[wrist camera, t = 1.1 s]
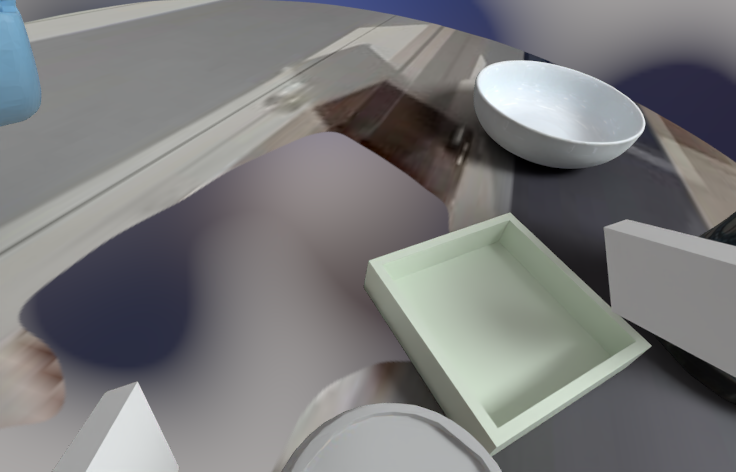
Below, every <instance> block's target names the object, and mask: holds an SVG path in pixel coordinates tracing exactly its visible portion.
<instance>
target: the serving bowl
mask: <svg viewBox="0 0 736 472" xmlns="http://www.w3.org/2000/svg"><path fill="white" fill-rule="evenodd" d="M474 108H475V112H476V115H477V117H478V120H479V122H480V124H481V125H482V127H483V128H484V130H485V131H486V132H487V134H488V135H489V136H490V137H491V138H492V139H493V140H494V141H495V142H496V143H498V144H499V145H500V146H502V147H503V148H505V149H506V150H508V151H509V152H511V153H513V154H515V155H517V156H519V157H521V158H523V159H525V160H528V161H531V162H534V163H537V164H540V165H544V166H549V167H555V168H564V169H578V168H587V167H592V166H596V165H600V164H603V163H605V162H608V161H610V160H612V159H614V158H616V157H617V156H619V155H620V154H622V153H623V152H624V151H626V150H627V149H628V148H629V147H630V146H631V145H632V144H633V143H634V142H635V141H636V140H637V139H638V137H639V136H640V135H641V134H642V132H643V131H644V128H645V120H644V116H643V114H642V112H641V111H640V109H639V108H638V107H637V106H636V104H635V103H634V102H632V101H631V100H630V99H629V98H628V97H627V96H625V95H624V94H622V93H621V92H619V91H618V90H617V89H615V88H613V87H612V86H610V85H608V84H606V83H604V82H602V81H600V80H598V79H596V78H594V77H591V76H589V75H587V74H584V73H581V72H579V71H576V70H573V69H569V68H566V67H562V66H558V65H554V64H549V63H543V62H536V61H504V62H498V63H494V64H491V65H489V66H487V67H485V68H484V69H482V70H481V71H480V72H479V74H478V75H477V77H476V81H475V87H474Z"/></svg>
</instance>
